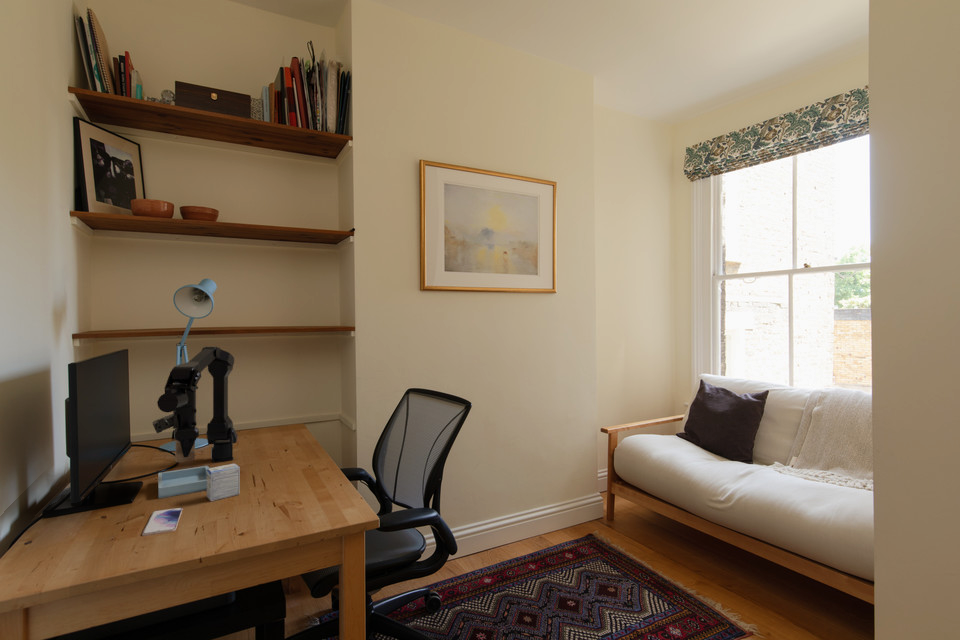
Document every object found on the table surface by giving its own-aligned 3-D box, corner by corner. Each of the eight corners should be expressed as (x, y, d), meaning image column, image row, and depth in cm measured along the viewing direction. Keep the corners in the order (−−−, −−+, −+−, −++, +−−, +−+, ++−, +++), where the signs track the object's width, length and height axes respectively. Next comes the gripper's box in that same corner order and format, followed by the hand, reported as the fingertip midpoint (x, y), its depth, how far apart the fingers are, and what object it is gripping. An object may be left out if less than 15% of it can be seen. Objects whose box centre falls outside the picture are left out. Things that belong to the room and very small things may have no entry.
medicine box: (235, 490, 146) (235, 462, 146) (239, 494, 143) (240, 466, 143) (206, 497, 141) (206, 468, 141) (210, 502, 138) (210, 472, 138)
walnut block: (193, 455, 154) (193, 436, 154) (194, 459, 150) (194, 440, 149) (175, 458, 151) (175, 438, 151) (175, 462, 147) (175, 442, 147)
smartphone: (183, 507, 133) (175, 529, 119) (183, 510, 133) (175, 532, 119) (152, 510, 130) (141, 534, 116) (152, 514, 130) (141, 537, 116)
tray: (208, 474, 161) (208, 465, 161) (212, 489, 148) (213, 479, 148) (158, 482, 153) (158, 473, 153) (158, 498, 140) (158, 488, 140)
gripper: (154, 403, 153) (154, 451, 153) (154, 414, 138) (154, 467, 138) (194, 400, 159) (194, 446, 160) (198, 410, 144) (198, 461, 144)
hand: (185, 455), depth 150 cm, fingers closed on walnut block, 5 cm apart
